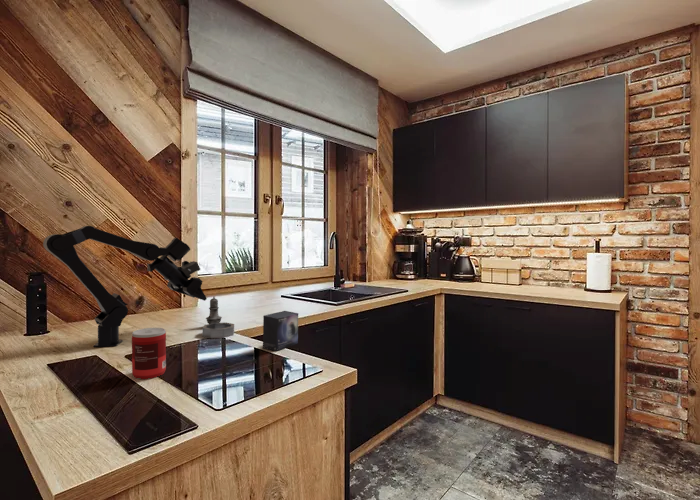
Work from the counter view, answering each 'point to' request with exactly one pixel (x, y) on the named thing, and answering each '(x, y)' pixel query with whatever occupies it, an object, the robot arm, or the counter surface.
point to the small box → (280, 330)
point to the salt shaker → (213, 312)
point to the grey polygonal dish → (218, 330)
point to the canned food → (148, 352)
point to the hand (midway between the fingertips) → (200, 298)
